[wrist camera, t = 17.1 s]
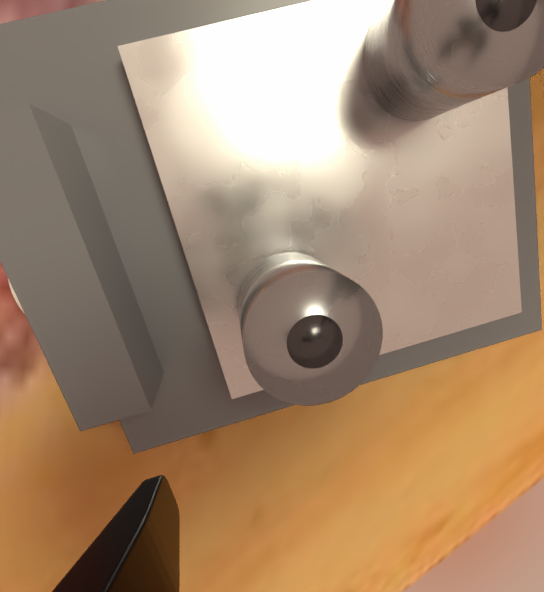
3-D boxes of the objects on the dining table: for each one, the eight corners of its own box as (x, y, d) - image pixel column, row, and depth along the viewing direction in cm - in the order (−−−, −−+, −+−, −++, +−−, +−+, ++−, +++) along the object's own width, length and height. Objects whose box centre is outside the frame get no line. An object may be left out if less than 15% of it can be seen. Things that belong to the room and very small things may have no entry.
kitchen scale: (488, -61, 17) (604, -175, 12) (515, 318, 23) (602, 353, 18) (-23, 56, 16) (-144, -16, 11) (135, 433, 21) (107, 508, 16)
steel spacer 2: (466, -24, 15) (583, -132, 10) (478, 105, 16) (586, 64, 12) (352, 3, 15) (417, -94, 10) (374, 133, 16) (439, 103, 11)
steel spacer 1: (327, 239, 17) (369, 254, 12) (348, 335, 18) (393, 383, 14) (224, 268, 17) (225, 296, 12) (253, 364, 18) (264, 423, 13)
